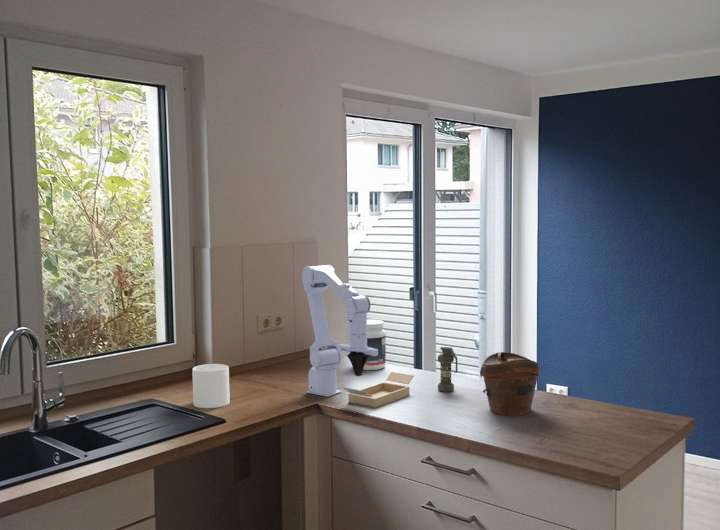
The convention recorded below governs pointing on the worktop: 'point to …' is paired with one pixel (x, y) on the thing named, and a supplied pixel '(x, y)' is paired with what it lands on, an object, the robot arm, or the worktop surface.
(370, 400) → the light wood shallow tray
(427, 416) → the worktop surface
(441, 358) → the grenade
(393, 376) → the far flap
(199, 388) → the white cylinder
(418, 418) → the worktop surface
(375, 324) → the supplement tub
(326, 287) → the robot arm
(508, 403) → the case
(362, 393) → the near flap
